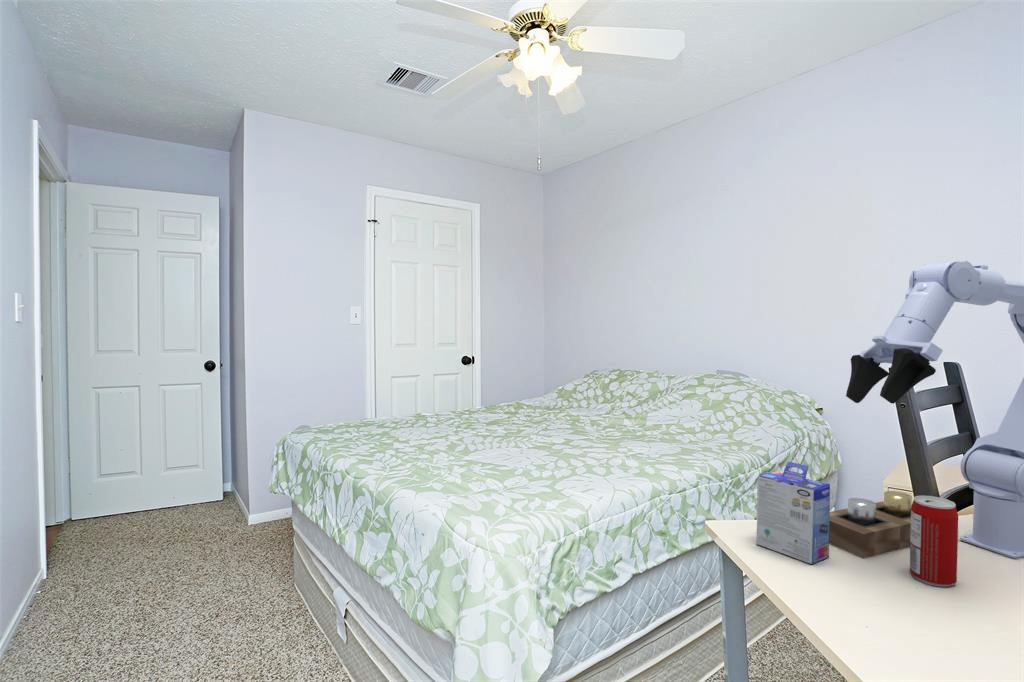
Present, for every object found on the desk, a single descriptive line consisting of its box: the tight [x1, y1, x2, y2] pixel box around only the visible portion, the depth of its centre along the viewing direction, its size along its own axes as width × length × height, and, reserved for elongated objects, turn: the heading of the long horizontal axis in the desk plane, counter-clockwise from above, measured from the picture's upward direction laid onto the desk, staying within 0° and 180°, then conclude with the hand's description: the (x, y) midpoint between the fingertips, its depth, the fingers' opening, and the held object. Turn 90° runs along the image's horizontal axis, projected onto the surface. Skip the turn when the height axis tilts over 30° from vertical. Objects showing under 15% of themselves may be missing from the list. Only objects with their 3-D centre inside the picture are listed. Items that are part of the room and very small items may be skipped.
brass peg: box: [883, 490, 913, 518], centre depth 97 cm, size 4×4×4 cm
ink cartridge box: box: [755, 461, 831, 565], centre depth 90 cm, size 10×6×14 cm, turn 34°
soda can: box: [909, 495, 959, 588], centre depth 80 cm, size 6×6×12 cm
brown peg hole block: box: [829, 500, 911, 559], centre depth 95 cm, size 20×9×4 cm, turn 111°
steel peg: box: [847, 497, 877, 526], centre depth 93 cm, size 4×4×4 cm
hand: (868, 399), depth 83 cm, fingers open, 7 cm apart
